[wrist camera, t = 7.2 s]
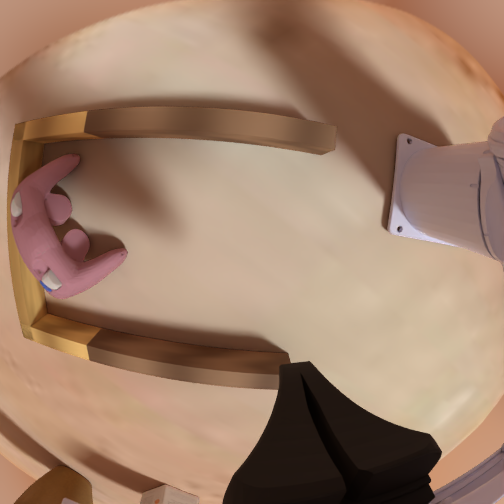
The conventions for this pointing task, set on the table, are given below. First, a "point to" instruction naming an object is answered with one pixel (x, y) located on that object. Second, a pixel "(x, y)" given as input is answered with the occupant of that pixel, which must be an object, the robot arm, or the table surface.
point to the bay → (127, 345)
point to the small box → (168, 496)
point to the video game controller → (44, 237)
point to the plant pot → (58, 488)
